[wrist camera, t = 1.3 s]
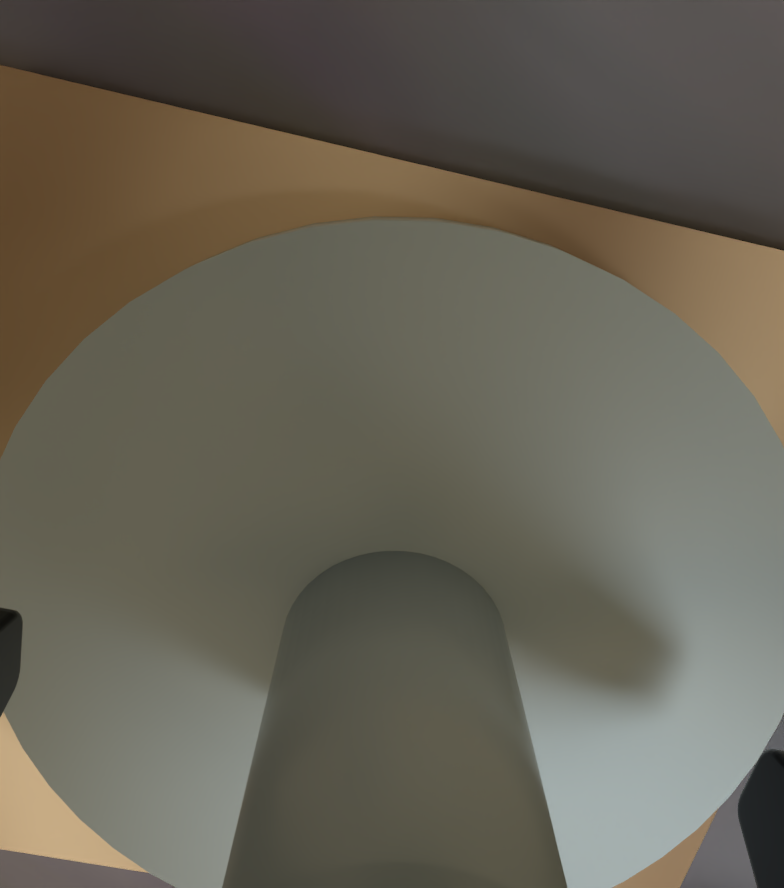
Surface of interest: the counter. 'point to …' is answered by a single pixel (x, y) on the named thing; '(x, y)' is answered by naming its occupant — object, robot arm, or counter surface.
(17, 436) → the lid
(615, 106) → the counter surface
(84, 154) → the mat
